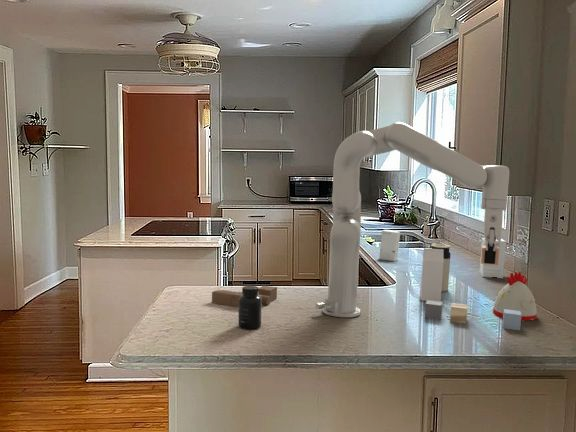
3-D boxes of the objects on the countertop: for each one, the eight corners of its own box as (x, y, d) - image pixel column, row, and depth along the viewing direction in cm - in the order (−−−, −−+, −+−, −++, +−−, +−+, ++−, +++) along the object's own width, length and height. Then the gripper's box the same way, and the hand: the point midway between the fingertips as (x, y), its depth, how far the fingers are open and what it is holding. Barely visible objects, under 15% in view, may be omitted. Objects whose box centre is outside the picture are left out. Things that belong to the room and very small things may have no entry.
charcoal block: (440, 320, 188) (441, 305, 187) (424, 318, 189) (425, 303, 189) (441, 316, 193) (442, 302, 192) (426, 314, 194) (427, 300, 194)
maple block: (466, 323, 185) (467, 308, 185) (449, 321, 187) (451, 306, 186) (466, 319, 190) (467, 304, 190) (450, 317, 192) (451, 303, 191)
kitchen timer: (484, 311, 202) (487, 268, 200) (515, 308, 207) (519, 267, 205) (512, 322, 189) (516, 277, 187) (545, 319, 194) (549, 275, 192)
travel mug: (427, 290, 229) (430, 245, 227) (427, 286, 236) (430, 243, 234) (448, 292, 227) (451, 247, 225) (447, 288, 234) (450, 244, 233)
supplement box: (503, 278, 258) (506, 241, 256) (482, 277, 260) (484, 240, 258) (499, 274, 268) (502, 238, 266) (478, 273, 269) (481, 237, 267)
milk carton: (440, 302, 211) (444, 251, 209) (420, 300, 212) (424, 249, 210) (439, 298, 218) (443, 248, 216) (420, 296, 219) (423, 246, 217)
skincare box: (379, 259, 294) (380, 230, 293) (382, 257, 300) (384, 229, 298) (395, 261, 290) (396, 232, 289) (398, 259, 296) (400, 230, 294)
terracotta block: (497, 265, 181) (499, 249, 180) (481, 263, 182) (482, 247, 182) (497, 262, 185) (498, 247, 185) (481, 260, 187) (482, 245, 186)
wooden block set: (258, 295, 190) (211, 288, 197) (258, 312, 191) (210, 304, 198) (279, 285, 205) (235, 278, 213) (279, 300, 206) (234, 294, 213)
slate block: (520, 330, 180) (521, 315, 180) (503, 328, 182) (504, 312, 181) (519, 326, 185) (520, 310, 184) (502, 324, 187) (503, 309, 186)
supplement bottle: (249, 321, 178) (250, 283, 176) (265, 326, 173) (267, 287, 172) (233, 326, 172) (234, 287, 171) (250, 331, 168) (251, 291, 167)
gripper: (507, 207, 173) (502, 267, 174) (505, 203, 189) (501, 258, 191) (481, 206, 175) (476, 265, 177) (481, 202, 191) (477, 256, 193)
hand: (489, 261), depth 184 cm, fingers closed on terracotta block, 4 cm apart
